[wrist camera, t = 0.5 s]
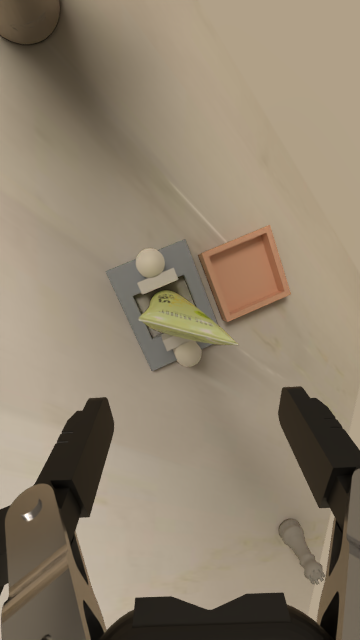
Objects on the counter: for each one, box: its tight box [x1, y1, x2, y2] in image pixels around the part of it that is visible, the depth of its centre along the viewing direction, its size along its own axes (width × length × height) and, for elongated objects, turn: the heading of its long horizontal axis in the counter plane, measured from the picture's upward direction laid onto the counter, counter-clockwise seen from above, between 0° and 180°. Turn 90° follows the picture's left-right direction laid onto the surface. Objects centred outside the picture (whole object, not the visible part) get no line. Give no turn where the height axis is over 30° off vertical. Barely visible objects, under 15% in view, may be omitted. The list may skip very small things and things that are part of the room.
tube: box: [138, 290, 239, 346], centre depth 26 cm, size 6×5×20 cm
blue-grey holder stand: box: [105, 239, 218, 371], centre depth 33 cm, size 17×12×5 cm
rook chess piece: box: [279, 519, 325, 584], centre depth 42 cm, size 4×4×8 cm
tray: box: [198, 225, 291, 322], centre depth 35 cm, size 11×11×2 cm
